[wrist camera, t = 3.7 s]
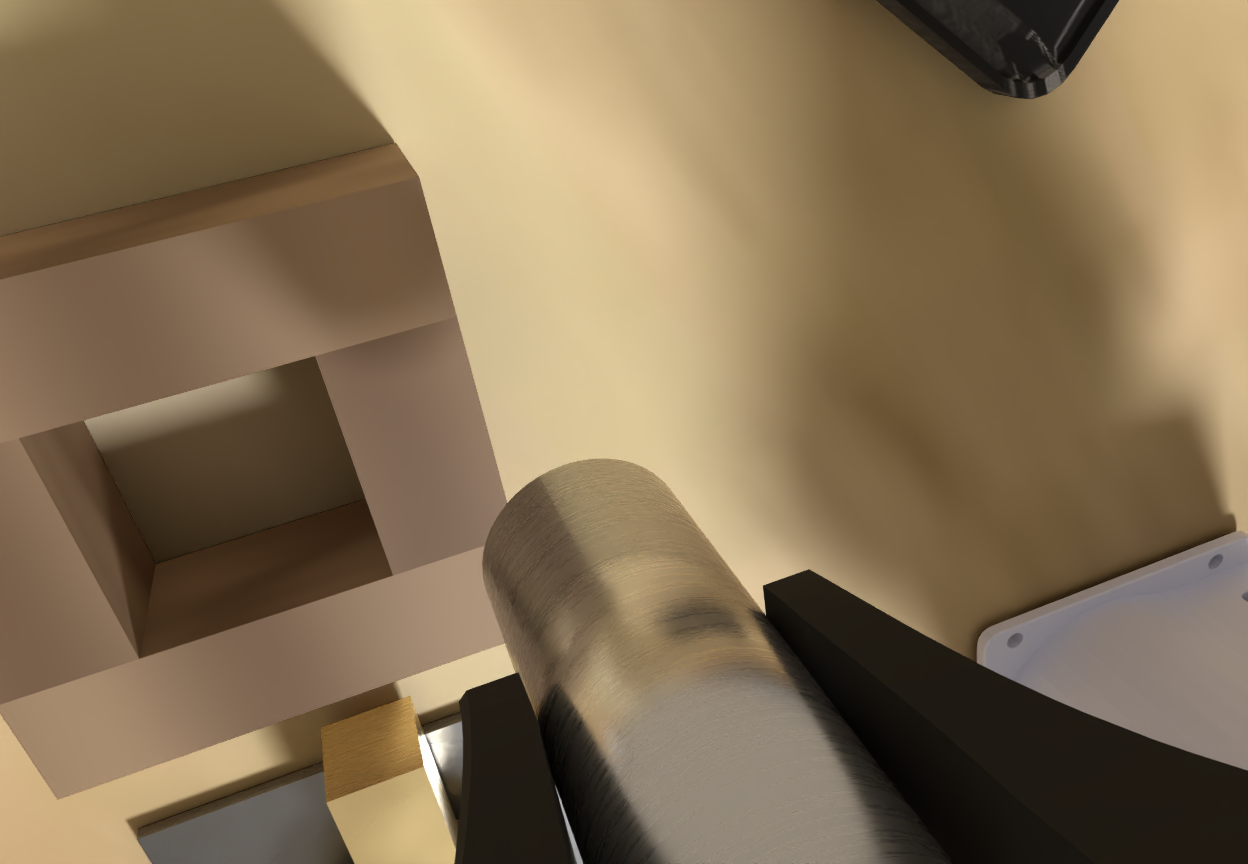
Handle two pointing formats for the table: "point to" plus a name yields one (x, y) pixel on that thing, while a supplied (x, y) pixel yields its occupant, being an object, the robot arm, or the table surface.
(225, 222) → the socket block
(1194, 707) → the robot arm
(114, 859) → the table surface
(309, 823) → the plate
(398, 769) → the ring nut
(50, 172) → the table surface
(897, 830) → the pin
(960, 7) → the phone
